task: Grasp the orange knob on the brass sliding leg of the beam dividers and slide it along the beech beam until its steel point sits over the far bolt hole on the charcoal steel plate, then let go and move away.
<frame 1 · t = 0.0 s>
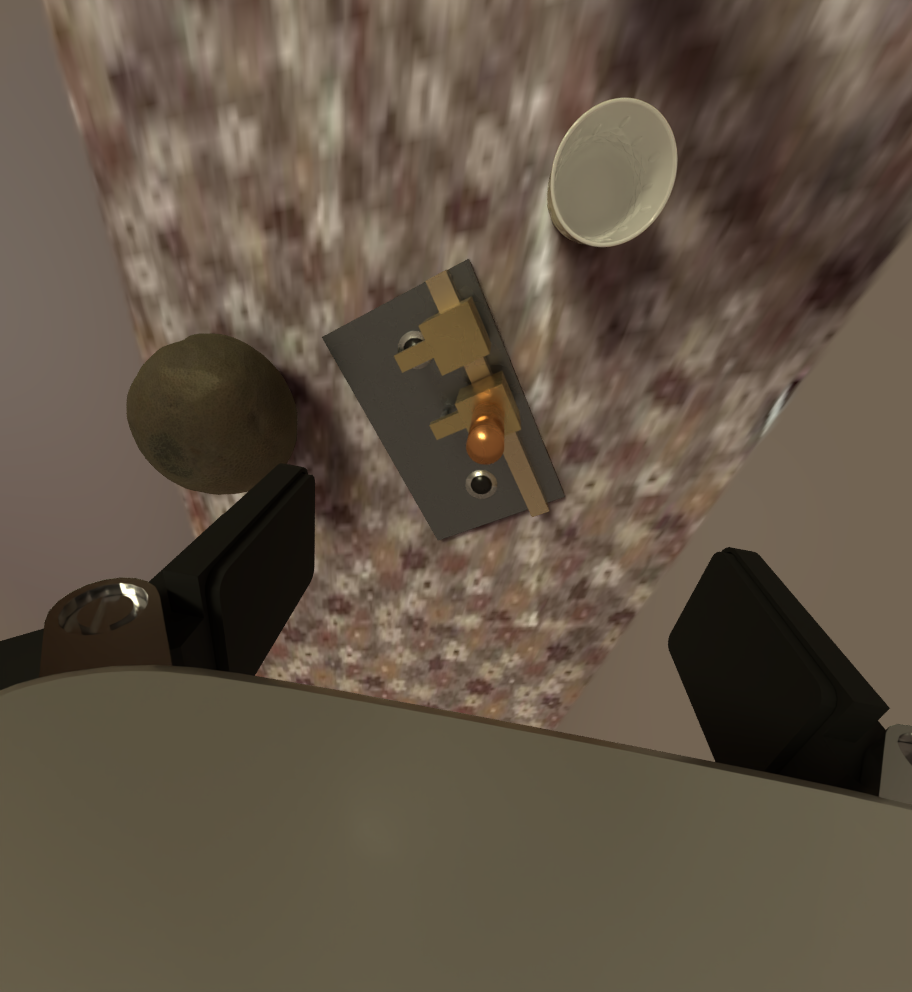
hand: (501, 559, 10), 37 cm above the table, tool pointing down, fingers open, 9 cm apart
white cup: (587, 195, 38), on the table
dimpled olive sphere: (261, 392, 49), on the table
divider base: (451, 418, 48), on the table
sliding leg: (469, 425, 39), point 8 cm above the table, slide at 7.0 cm
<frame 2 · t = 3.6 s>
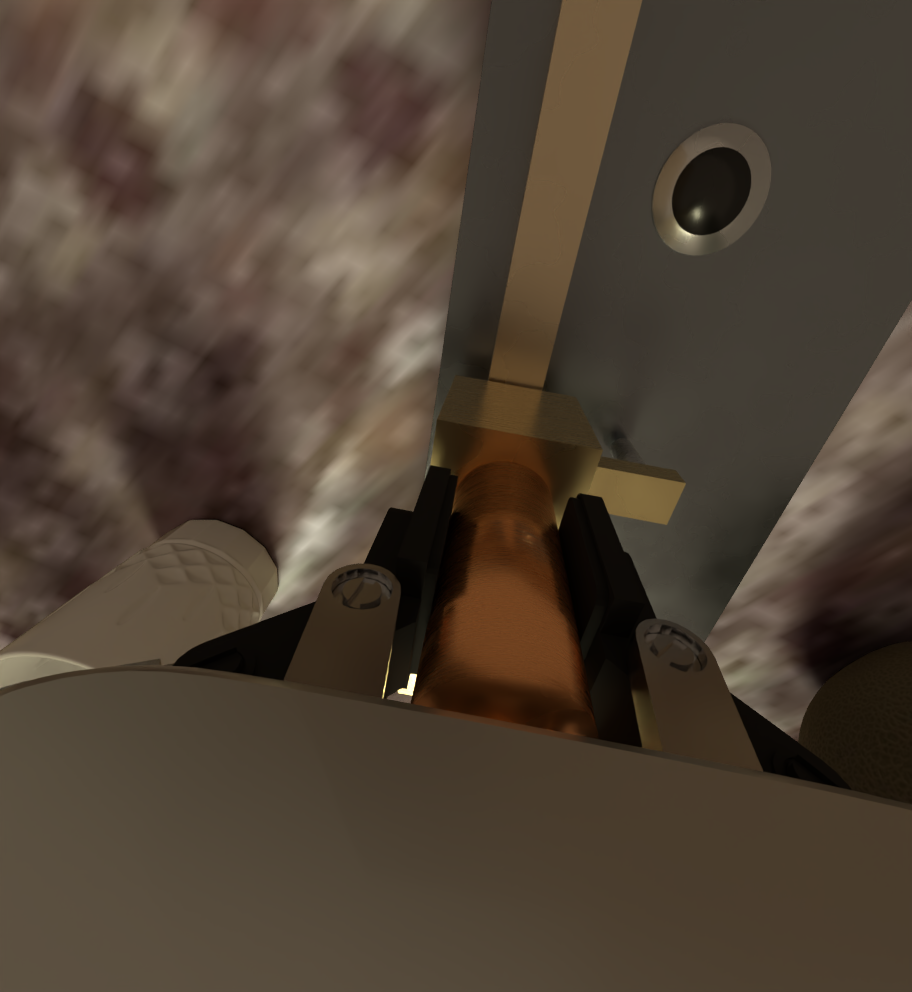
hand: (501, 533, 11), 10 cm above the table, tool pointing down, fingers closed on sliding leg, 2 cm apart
white cup: (225, 564, 26), on the table
dimpled olive sphere: (872, 660, 25), on the table
divider base: (620, 414, 19), on the table
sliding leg: (565, 520, 13), point 8 cm above the table, slide at 7.0 cm, touching gripper
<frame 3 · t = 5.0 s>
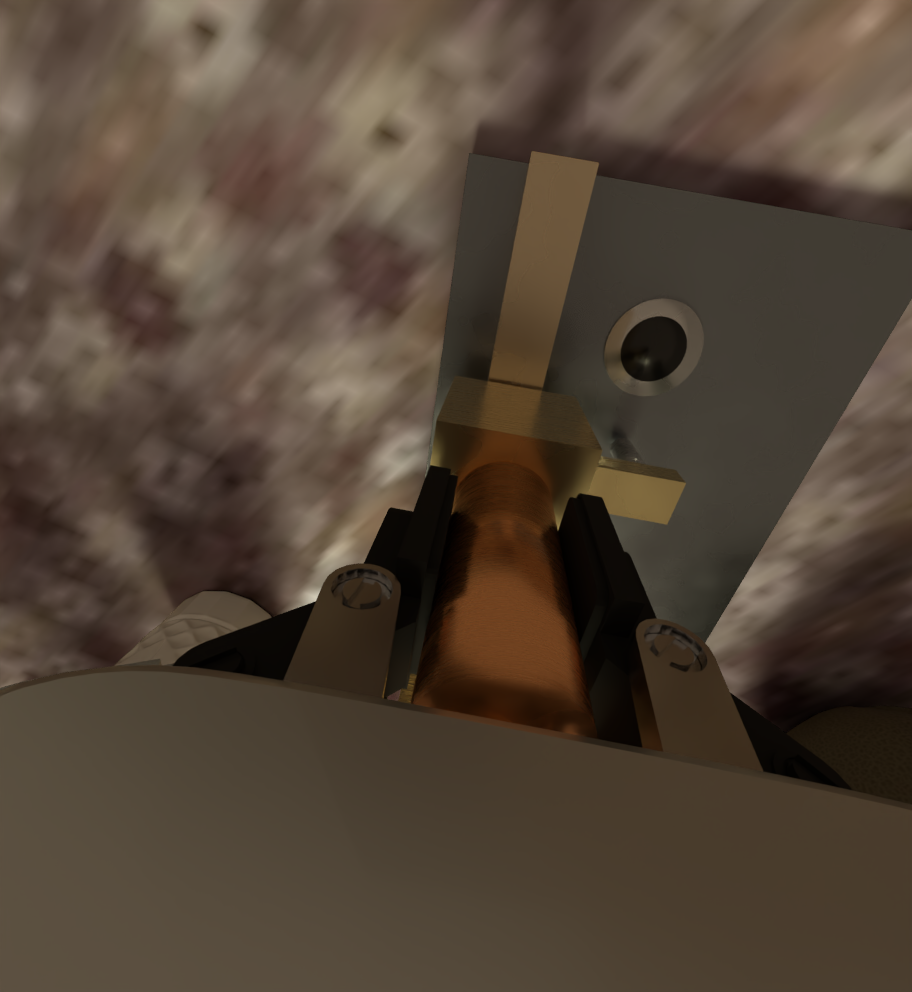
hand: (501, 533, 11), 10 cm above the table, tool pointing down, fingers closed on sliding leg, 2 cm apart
white cup: (234, 627, 29), on the table
dimpled olive sphere: (824, 716, 27), on the table
divider base: (586, 512, 22), on the table
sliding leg: (565, 520, 13), point 8 cm above the table, slide at 12.1 cm, touching gripper
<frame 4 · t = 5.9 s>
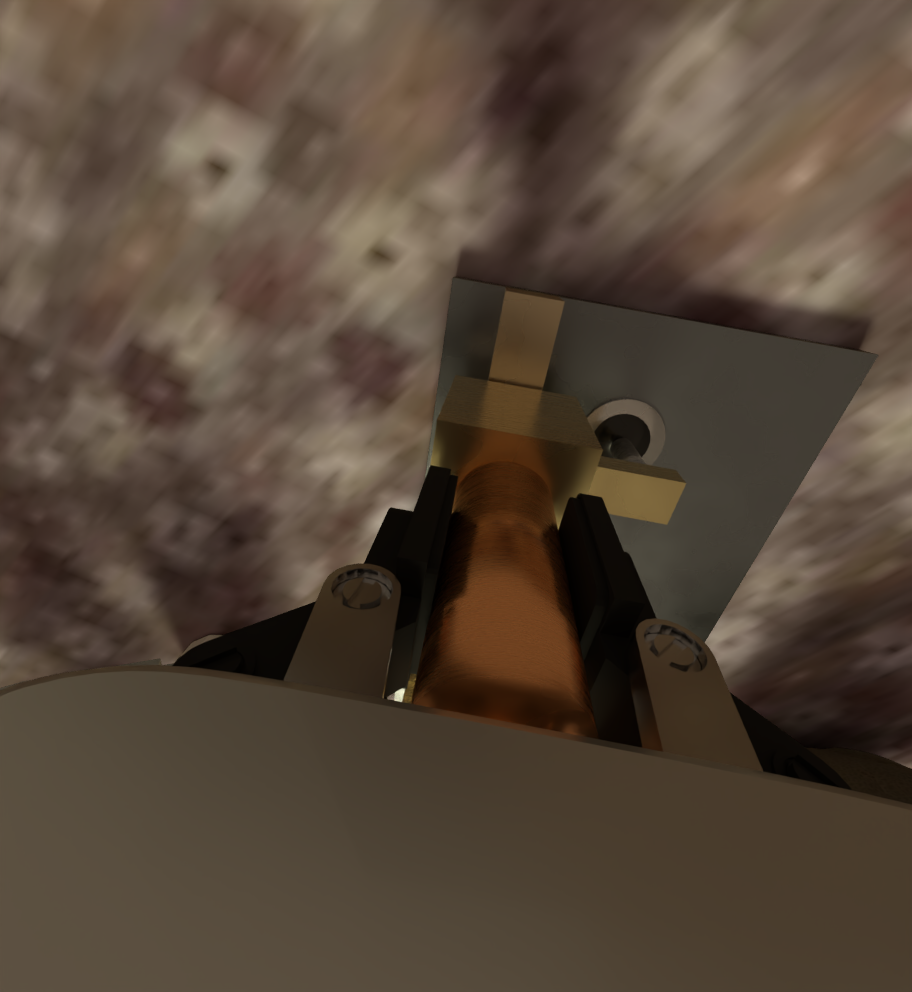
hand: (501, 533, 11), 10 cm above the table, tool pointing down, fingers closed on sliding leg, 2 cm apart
dimpled olive sphere: (790, 752, 29), on the table
divider base: (565, 572, 24), on the table
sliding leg: (565, 520, 13), point 8 cm above the table, slide at 15.8 cm, touching gripper
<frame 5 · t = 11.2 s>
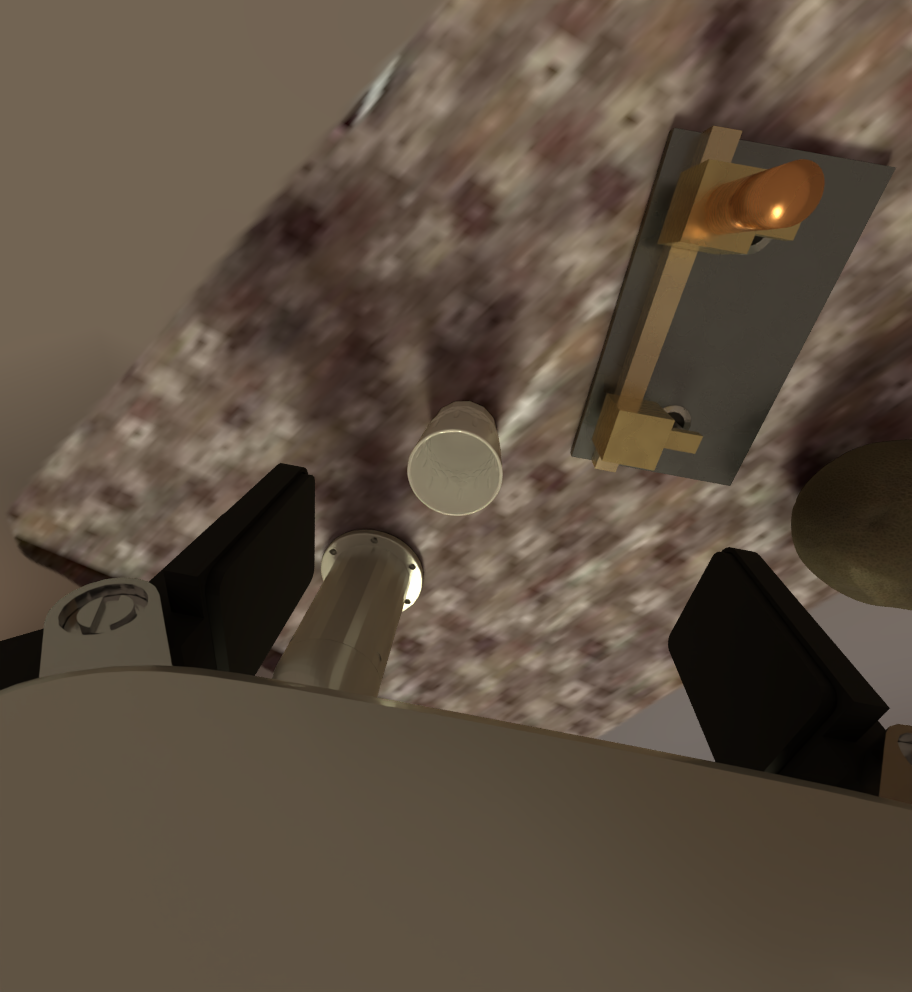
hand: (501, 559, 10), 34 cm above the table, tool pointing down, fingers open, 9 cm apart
white cup: (464, 431, 46), on the table
dimpled olive sphere: (833, 481, 44), on the table
divider base: (702, 334, 39), on the table
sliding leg: (758, 213, 28), point 8 cm above the table, slide at 16.0 cm
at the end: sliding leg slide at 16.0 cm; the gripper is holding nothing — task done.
